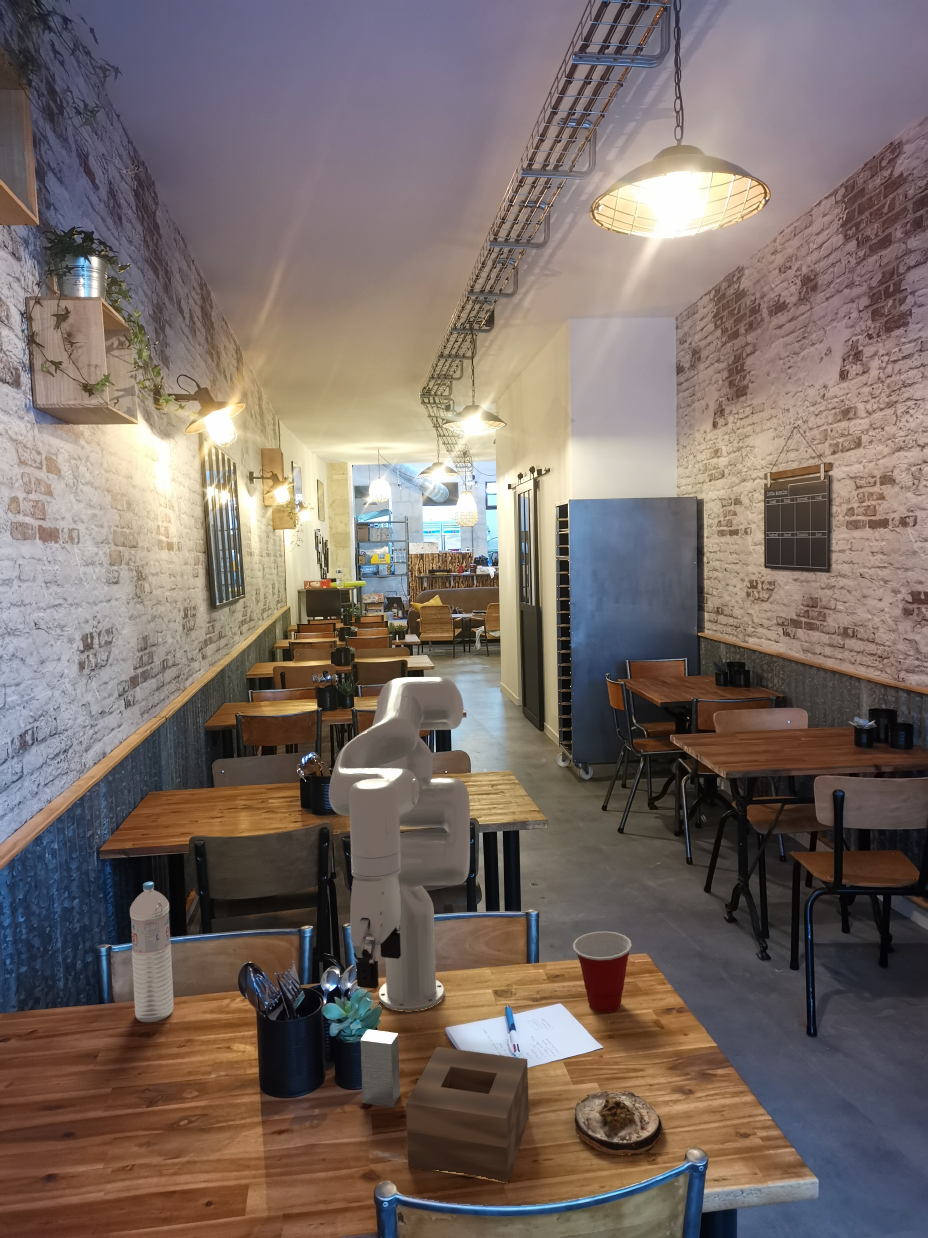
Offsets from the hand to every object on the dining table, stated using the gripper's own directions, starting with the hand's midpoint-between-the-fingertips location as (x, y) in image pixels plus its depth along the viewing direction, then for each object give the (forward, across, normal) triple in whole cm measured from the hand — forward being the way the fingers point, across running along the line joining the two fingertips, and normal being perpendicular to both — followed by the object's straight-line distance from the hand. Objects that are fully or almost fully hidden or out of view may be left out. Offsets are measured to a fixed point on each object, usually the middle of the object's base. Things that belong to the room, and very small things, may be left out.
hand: (379, 971), depth 129 cm
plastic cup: (+21, -36, +30) cm, 51 cm away
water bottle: (+21, -15, -51) cm, 57 cm away
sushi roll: (+21, -2, +36) cm, 41 cm away
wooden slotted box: (+20, +6, +16) cm, 26 cm away
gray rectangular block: (+20, 0, 0) cm, 20 cm away
